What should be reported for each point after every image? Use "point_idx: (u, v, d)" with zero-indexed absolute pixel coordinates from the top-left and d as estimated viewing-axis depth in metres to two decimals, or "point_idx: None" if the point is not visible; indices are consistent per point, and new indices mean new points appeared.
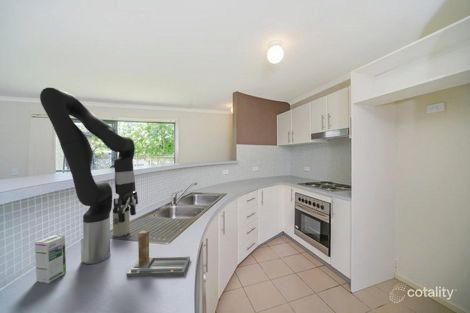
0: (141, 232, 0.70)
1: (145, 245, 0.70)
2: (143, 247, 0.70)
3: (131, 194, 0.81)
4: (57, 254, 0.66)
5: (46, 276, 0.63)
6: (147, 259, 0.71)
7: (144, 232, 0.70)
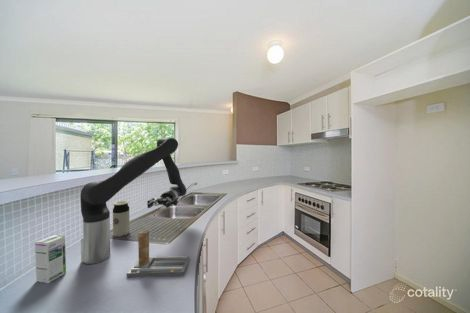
0: (141, 232, 0.70)
1: (145, 245, 0.70)
2: (143, 247, 0.70)
3: None
4: (57, 254, 0.66)
5: (46, 276, 0.63)
6: (147, 259, 0.71)
7: (144, 232, 0.70)
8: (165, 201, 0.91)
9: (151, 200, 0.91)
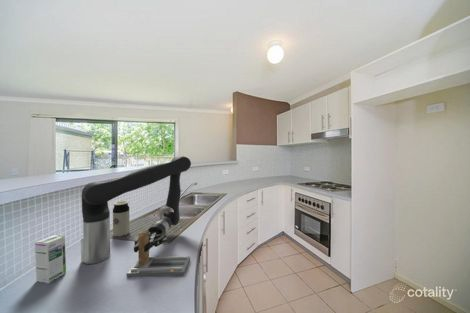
0: (141, 232, 0.70)
1: None
2: (143, 247, 0.70)
3: None
4: (57, 254, 0.66)
5: (46, 276, 0.63)
6: (147, 259, 0.71)
7: (144, 232, 0.70)
8: (149, 239, 0.75)
9: None
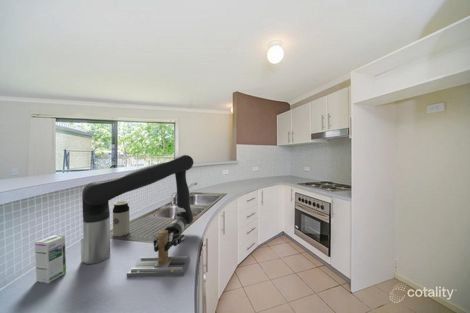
0: (160, 232, 0.70)
1: (164, 245, 0.70)
2: (162, 246, 0.70)
3: None
4: (57, 254, 0.66)
5: (46, 276, 0.63)
6: (166, 259, 0.71)
7: (163, 232, 0.70)
8: None
9: (156, 238, 0.75)
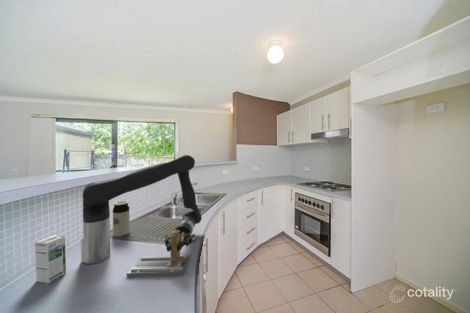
0: (173, 231, 0.71)
1: (177, 244, 0.70)
2: (175, 246, 0.70)
3: None
4: (57, 254, 0.66)
5: (46, 276, 0.63)
6: (179, 258, 0.71)
7: (176, 231, 0.71)
8: None
9: (168, 238, 0.75)
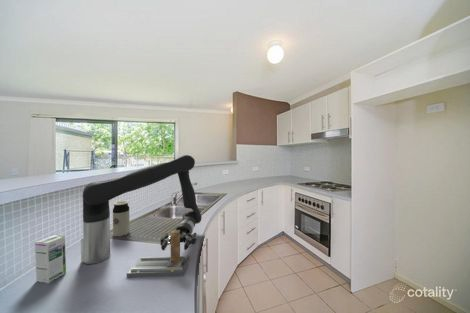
0: (173, 231, 0.71)
1: (177, 244, 0.70)
2: (175, 246, 0.70)
3: None
4: (57, 254, 0.66)
5: (46, 276, 0.63)
6: (179, 258, 0.71)
7: (176, 231, 0.71)
8: (182, 239, 0.75)
9: (165, 237, 0.76)
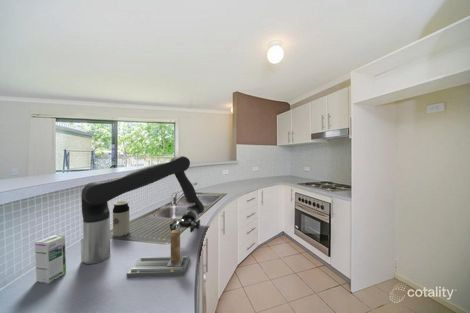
0: (173, 231, 0.71)
1: (177, 244, 0.70)
2: (175, 246, 0.70)
3: None
4: (57, 254, 0.66)
5: (46, 276, 0.63)
6: (179, 258, 0.71)
7: (176, 231, 0.71)
8: (188, 224, 0.89)
9: (173, 223, 0.89)
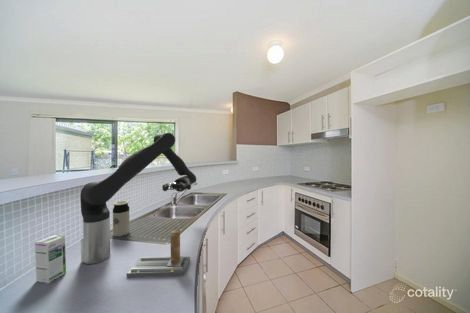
0: (173, 231, 0.71)
1: (177, 244, 0.70)
2: (175, 246, 0.70)
3: None
4: (57, 254, 0.66)
5: (46, 276, 0.63)
6: (179, 258, 0.71)
7: (176, 231, 0.71)
8: (179, 186, 0.95)
9: (166, 185, 0.95)
